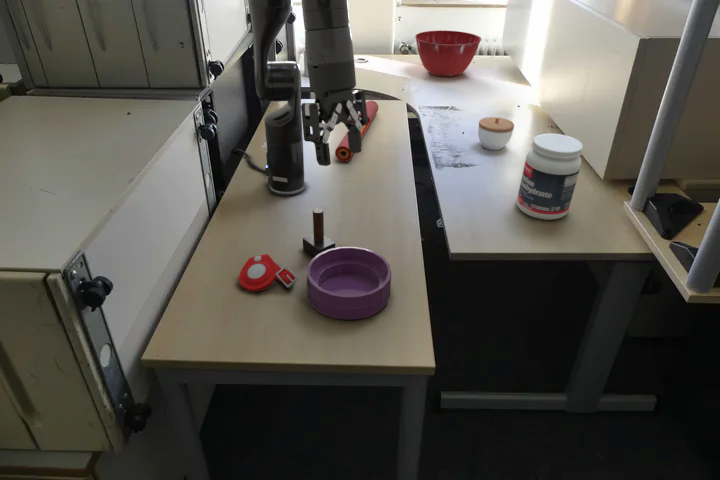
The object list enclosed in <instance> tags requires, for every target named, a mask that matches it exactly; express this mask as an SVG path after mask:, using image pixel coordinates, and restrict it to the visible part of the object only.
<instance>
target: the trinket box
mask: <svg viewBox="0 0 720 480" xmlns="http://www.w3.org/2000/svg"><path fill="white" fill-rule="evenodd" d="M514 128H515V124H514V122H513V121H511V120H509V119H507V118H503V117H499V116H487V117H483V118H481V119H480V120H478V130H477V132H478V133H477V135H478V139H479V141H480V144H482V146H483V148H485V149H487V150H491V151H499V150H502V149H503V148H504V147H505V146H506V145H507V144H509V142H510V141H511V138H512V136H513V132H514Z"/></svg>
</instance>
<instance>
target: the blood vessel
mask: <svg viewBox="0 0 720 480" xmlns="http://www.w3.org/2000/svg"><path fill="white" fill-rule="evenodd" d="M366 108H367V117H368V124H367V125H364V126H363V127H362V130H361V131H360V133H361V140H363V137H364V136H365V134H366V132H367V131H368V129H369V128H370V126H371V124H372V122H373V120H374V119H375V117H376V115H377V113H378V111H379V104H378V103H377V102H376V101H375V100H368V101H366ZM358 116H359V118H361V112H358ZM348 131H350V130H348V129H347V132H348ZM347 132H346V133H345V135H344V136H343V137H342V140H341V141H340V142H339V144H338V145H337V146H336V149H335V151H334V155H335V158H336V159H337V160H338V161H340V162H343V163H344V162H345V163H346V162H348V161H350V160H351V159H352V156H354V153H351V152H350V151H349V144H348V133H347Z"/></svg>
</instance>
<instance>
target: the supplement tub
mask: <svg viewBox="0 0 720 480" xmlns="http://www.w3.org/2000/svg"><path fill="white" fill-rule="evenodd" d="M583 148H584V145H583V143H582V142H581V141H580V140H578V139H577V138H575V137H572V136H569V135H567V134H561V133H551V132H550V133H540V134H538V135H536V136H534V137H533V139H532V143H531V148H530V149H529V150H528V151H527V153H526V156H525V161H524V166H523V171H522V174H521V179H520V184H519V187H518V188H519V189H518V194H517V197H516V204H517V206H518V209H520V211H521V212H523V213H524V214H526V215H527V216H529V217H532V218H535V219H538V220H545V221H548V220H549V221H552V220H553V221H554V220H558V219H561V218H563V217H564V216H567V214H568V212H569V210H570V207H571V203H572V199H573V197H574V196H573V195H574V192H575V188H576V184H577V182H578V177H579V174H580V172H581V171H580V170H581V167H582V158H581V155H582V153H583Z"/></svg>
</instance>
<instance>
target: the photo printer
mask: <svg viewBox="0 0 720 480" xmlns="http://www.w3.org/2000/svg"><path fill="white" fill-rule="evenodd" d="M303 68H304V69H303V71H304V76H305V77H308V78H309V75H308V66H307V58H306V49H305V48H304V50H303Z"/></svg>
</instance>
